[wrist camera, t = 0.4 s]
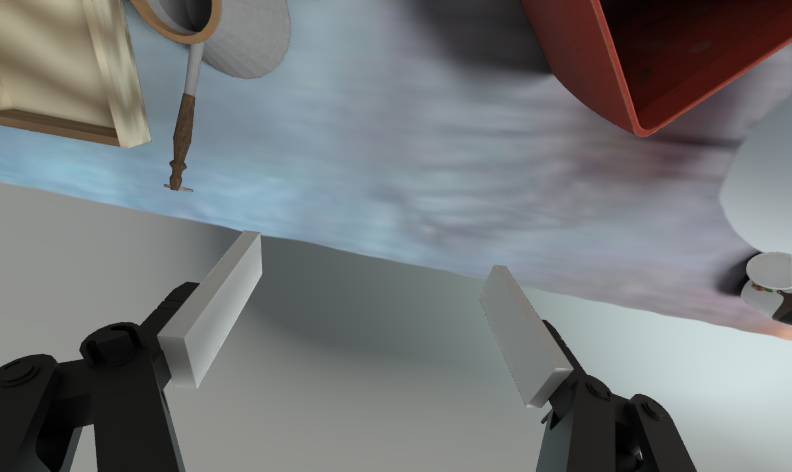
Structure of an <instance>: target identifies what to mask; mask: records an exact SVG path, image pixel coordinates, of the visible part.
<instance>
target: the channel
mask: <svg viewBox="0 0 792 472" xmlns="http://www.w3.org/2000/svg"><path fill="white" fill-rule="evenodd" d="M0 125H2V126H8V127H13V128H19V129H24V130H30V131H35V132H41V133H46V134H52V135H57V136H63V137H68V138H74V139H80V140H85V141H91V142H96V143H102V144H107V145H113V146H118V147H124V148H131V147H134V146H137V145H141V144H144V143H147V142H151V137H150V132H149V128H148V123H147V118H146V113H145V108H144V104H143V99H142V94H141V89H140V84H139V80H138V75H137V70H136V65H135V60H134V56H133V51H132V46H131V41H130V36H129V31H128V27H127V22H126V17H125V12H124V7H123V3H122V0H0Z"/></svg>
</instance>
